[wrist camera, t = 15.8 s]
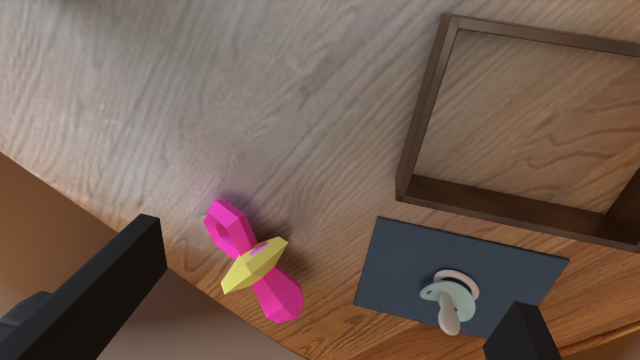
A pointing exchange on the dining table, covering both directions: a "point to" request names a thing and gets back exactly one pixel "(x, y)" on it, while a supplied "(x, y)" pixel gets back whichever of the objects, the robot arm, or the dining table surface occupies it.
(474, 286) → the pacifier
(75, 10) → the dining table surface
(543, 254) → the mat
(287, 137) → the dining table surface
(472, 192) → the open box
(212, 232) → the toy
